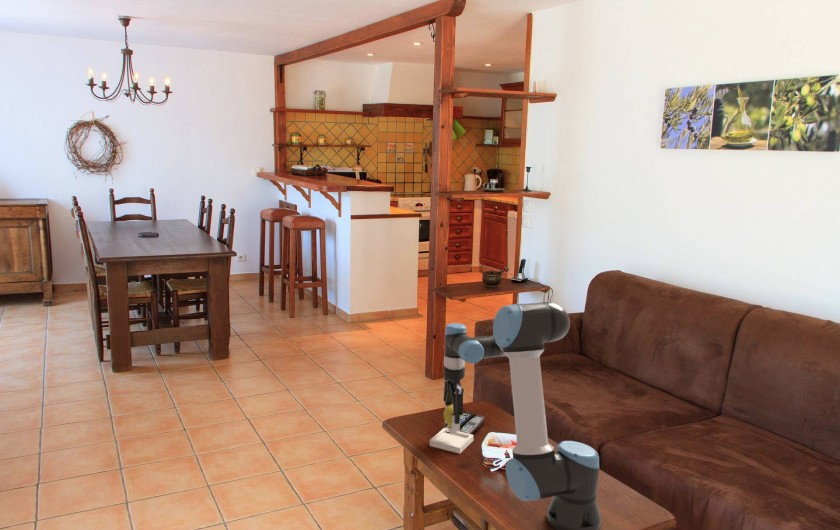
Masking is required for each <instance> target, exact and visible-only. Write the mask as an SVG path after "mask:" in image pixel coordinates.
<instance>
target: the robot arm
mask: <svg viewBox="0 0 840 530" xmlns="http://www.w3.org/2000/svg"><path fill="white" fill-rule="evenodd" d="M570 320H571V319H570V316H569V314H568V312H567V310H566V309H564V307H562V306H561V305H559V304H557V303H555V302H549V301H544V302H543V301H541V302H532V303H531V302H530V303H514V304H507V305H504V306H502V307H500V308H499V309H498V310H497V312H496V314H495V316H494V320H493V323H492V324H493V325H492V334H493V335H484V336H474V337H471V336H469V335H467V333H468V332H467V326H466V325H465V324H463V323H459V322H458V323H457V322H453V323H448V324H447V325H446V326H445V329H444V330H445V331H444V354H443V366H444V367H443V377H444V387H443V399H442V401H443V402H444V405H445V409H446V408H447V407H448V406H451V405H453V411H454V414H452V432H457V431H459V432H461V431H460V430H461V419H460V415H462V416H463V415H464V391H465V389H464V387H462V385H461V380H463V379H464V378H465V374H466V373H465V371H466V368H465V366H466V363H468V364H472V365H474V364H478V363H479V362H481V360H482V359H490V358H499V357H507V358H508V359H509V360H508V361H509V372H510V382H511V394H512V404H513V414H514V423H515V434H516V435H515V437H516V445H515V446H514V447H513V449H512V457H511V458H509V459H508V460H507V461H506V465H505V475H506V479H507V482H508V484H509V487H510V489H511V490H512V493H514V495H515V496H516V497H517V498H518V500H521V501H524V502H530V501H539V500H542V499H547V498H552V499H551V501H550V504H549V505H548V508H547V515H546V519H547V522H548V523H549V525H550V526H551V527H552V528H553V529H555V530H600V528H601V524H602V523H601V521H602V519H601V518H602V517H601V513H600V509H599V505H598V502H597V494H598V493H597V492H598V479H599V471H600V456H599V453H598V452H597V451H596V449H594V448H593V447H592V446H590V445H588V444H585V443H583V442H581V441H580V442H579V441H575V440H563V441H560V442H559V444H558V445H557V448H556V449H557V450H556V451H555V447H554V446H553V445H552V444H551V443H549V441H548V440H549V439H548V429H547V419H546V418H547V417H546V407H545V400H544V399H545V398H544V388H543V377H542V368H541V359H540V358H541V357H540V356H541V355H542V354H543V352H544V351H545V343H551V342H557V341H559V340H561V339H563V338H564V337H566V335H567V334H568V333H569V330H570V328H571V321H570ZM461 387H462V388H461ZM445 409H444V410H445ZM444 423H445V424H447V422H446V420H445V419H444Z"/></svg>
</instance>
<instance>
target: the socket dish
mask: <svg viewBox="0 0 840 530" xmlns="http://www.w3.org/2000/svg"><path fill="white" fill-rule="evenodd" d="M447 432H449V430H448V428H447V427H443V428H442V429H441V430H440V431H439V432H438V433H436V434H435V435H434V436H433V437H431V438H430V439H429V446H430V447H433V448H437V449H440V450H444V451H448V452H452V453H455V454H461V453H462V452H463V451H464V450H465V449H466V448H467V447H468V446H470V445H471V444H472V443H473V442H474V434H472V433H467V432H462V431H457V432H456V433H455V434H451V433H447Z"/></svg>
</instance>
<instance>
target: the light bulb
mask: <svg viewBox="0 0 840 530" xmlns="http://www.w3.org/2000/svg"><path fill="white" fill-rule="evenodd" d="M452 414H454V411H453V404H451V406H448V407H447V408H446V409H444V410H443V418H444V421H445V420H446V422H447V423H446V424H447V427H448V428H447V429H448V430H449V433H451V434H455V433H456V432H452ZM462 416H463V415H460V420H461V419H462Z"/></svg>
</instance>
